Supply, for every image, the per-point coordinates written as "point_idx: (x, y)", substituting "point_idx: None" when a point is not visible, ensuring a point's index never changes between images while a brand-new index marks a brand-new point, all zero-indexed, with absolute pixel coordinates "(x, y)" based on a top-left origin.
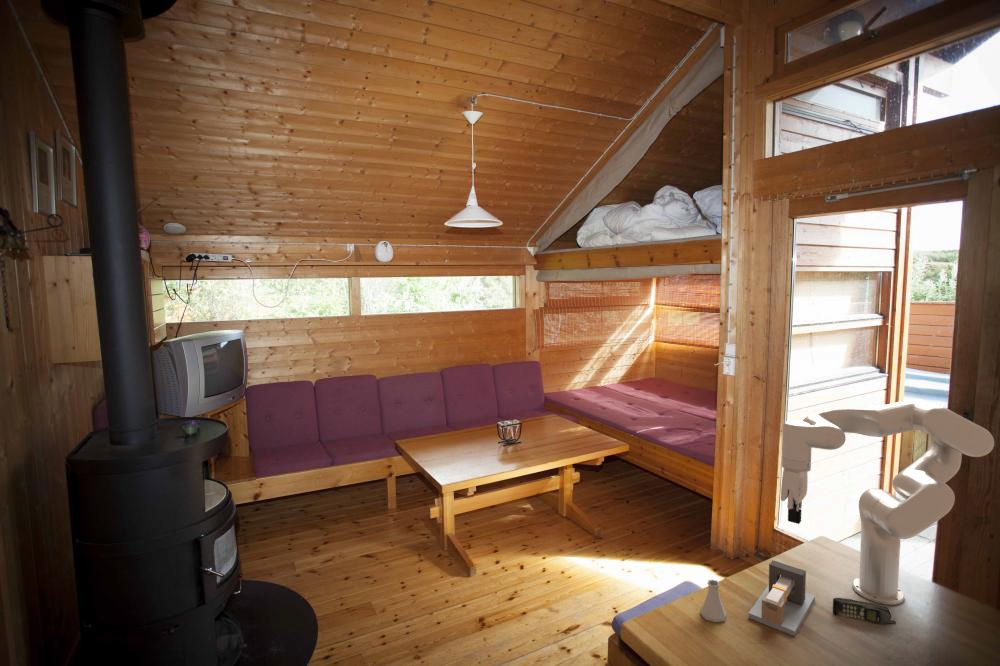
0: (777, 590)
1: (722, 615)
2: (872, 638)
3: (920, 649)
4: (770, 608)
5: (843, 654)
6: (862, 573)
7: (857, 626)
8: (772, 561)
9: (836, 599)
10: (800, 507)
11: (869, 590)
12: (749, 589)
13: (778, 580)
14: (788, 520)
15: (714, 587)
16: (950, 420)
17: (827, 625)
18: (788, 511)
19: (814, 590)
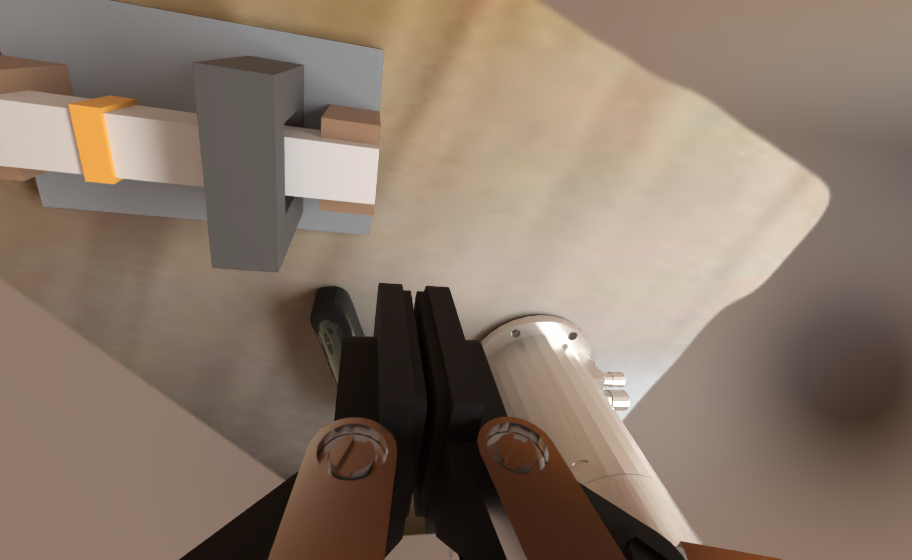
0: (58, 137)
1: None
2: (263, 384)
3: (298, 461)
4: None
5: (103, 338)
6: (524, 382)
7: (298, 349)
8: (252, 78)
9: (324, 324)
10: (455, 557)
11: (491, 370)
12: None
13: (181, 125)
14: (379, 288)
15: None
16: None
17: (235, 281)
18: (382, 368)
19: (442, 217)
